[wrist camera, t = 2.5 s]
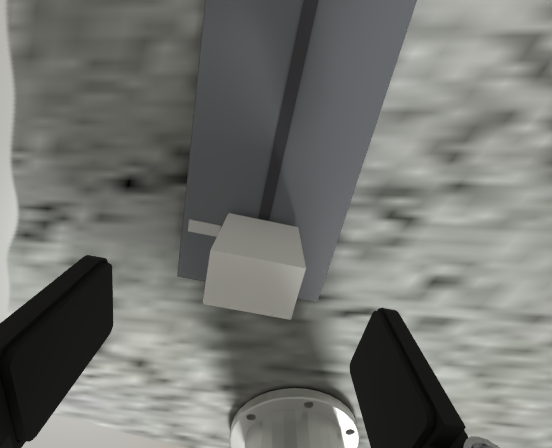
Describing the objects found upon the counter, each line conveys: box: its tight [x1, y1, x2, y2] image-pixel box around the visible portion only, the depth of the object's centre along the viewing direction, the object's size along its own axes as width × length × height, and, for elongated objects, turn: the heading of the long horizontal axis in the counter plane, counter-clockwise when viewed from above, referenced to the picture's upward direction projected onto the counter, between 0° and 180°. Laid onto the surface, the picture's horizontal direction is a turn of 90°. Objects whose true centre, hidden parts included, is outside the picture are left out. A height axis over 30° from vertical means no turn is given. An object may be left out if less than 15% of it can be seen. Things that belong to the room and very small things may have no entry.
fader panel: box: [177, 0, 417, 302], centre depth 16 cm, size 23×10×2 cm, turn 168°
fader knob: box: [203, 213, 306, 320], centre depth 15 cm, size 3×4×5 cm
